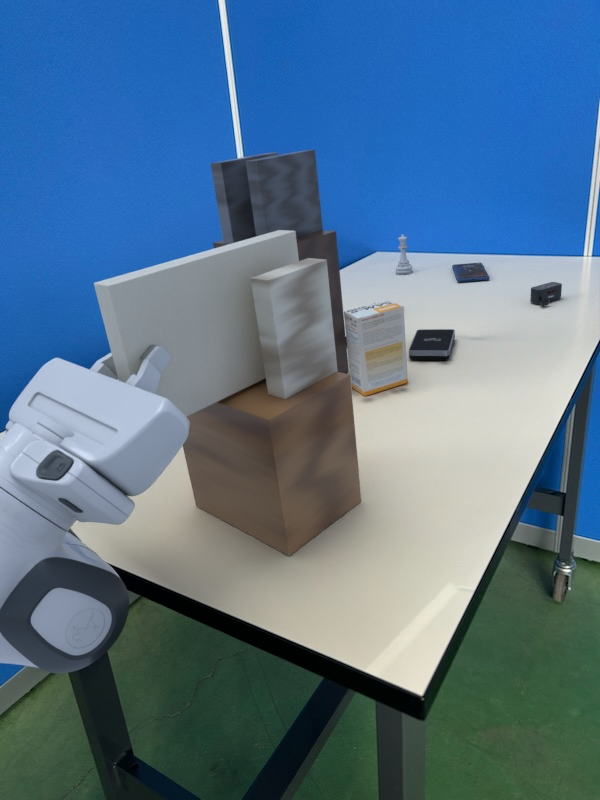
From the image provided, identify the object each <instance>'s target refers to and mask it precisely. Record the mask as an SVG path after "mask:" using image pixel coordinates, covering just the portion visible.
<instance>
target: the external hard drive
mask: <svg viewBox="0 0 600 800" xmlns="http://www.w3.org/2000/svg"><path fill="white" fill-rule="evenodd" d="M412 338H413V339H412V341H411V343H410V345H409V348H408V358H409V359H410V360H414V361H415V360H417V361H424V360H427V361H448V360H449V359H450V357H451V353H452V349H453V345H454V343H455V338H456V330H455V329H453V328H440V329H439V328H436V329H433V328H432V329H429V328H428V329H425V328H424V329H423V328H422V329H421V328H420V329H416V332H415V334H414V336H413V337H412Z"/></svg>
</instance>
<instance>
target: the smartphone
mask: <svg viewBox="0 0 600 800" xmlns="http://www.w3.org/2000/svg"><path fill="white" fill-rule="evenodd" d="M451 268H452V271H453V273H454V276H455V278H456V281H457V282H458V283H461V282H462V283H463V282H475V281H487V280H490V278H491V277H490V275H489V273H488V272H487V269H485V266H484V264H483V263H482V262H468V263H458V264H452V265H451Z"/></svg>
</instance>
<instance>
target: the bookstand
mask: <svg viewBox="0 0 600 800" xmlns="http://www.w3.org/2000/svg"><path fill="white" fill-rule="evenodd" d="M316 157H317V155H316V149H305V150H304V149H303V150H300V151H299V150H298V151H293V152H288V153H282V154H279V152H278V151H275V152H265V153H259V154H254V155H248V156H243V157H238V158H237V157H236V158H232V159H226V160H221V161H215V162H211V163H210V169H211V176H212V181H213V187H214V194H215V201H216V206H217V212H218V218H219V222H220V223H219V224H220V230H221V236H222V239H221V240H218V241H215V242H214V241H213V242H212V246H213V249H214V248H218V247H221V246H225V245H228V244H232V243H235V242H239V241H242V240H246V239H249V238H253V237H256V236H260V235H263V234H267V233H270V232H274V231H277V230H289V231H296V240H297V249H298V257H299V261H301V260H304V259H307V258H314V259H325V260H327V268H328V279H329V289H330V299H331V309H332V320H333V330H334V340H335V350H336V360H337V372H341V373H345V374H348V373H350V369H349V358H348V349H347V345H346V329H345V319H344V305H343V294H342V282H341V281H342V280H341V273H340V272H341V271H340V260H339V250H338V249H339V248H338V240H337V239H338V237H337V230H324V228H323V226H324V225H323V216H322V208H321V207H322V206H321V196H320V195H321V194H320V185H319V175H318V167H317V158H316Z"/></svg>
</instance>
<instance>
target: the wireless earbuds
mask: <svg viewBox="0 0 600 800" xmlns="http://www.w3.org/2000/svg"><path fill="white" fill-rule="evenodd" d="M562 288H563V284H562V282H561V283H560V282H556V281H551V282H546V283H543V284H539V285H536V286H531V287H530V297H529V299H530V300H529V301H530V303H531V304H535V305H538V306H540V307H545V306H548V305H550V303H552V302H555V301H558V300H560V299H561V298H562V290H563V289H562Z"/></svg>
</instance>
